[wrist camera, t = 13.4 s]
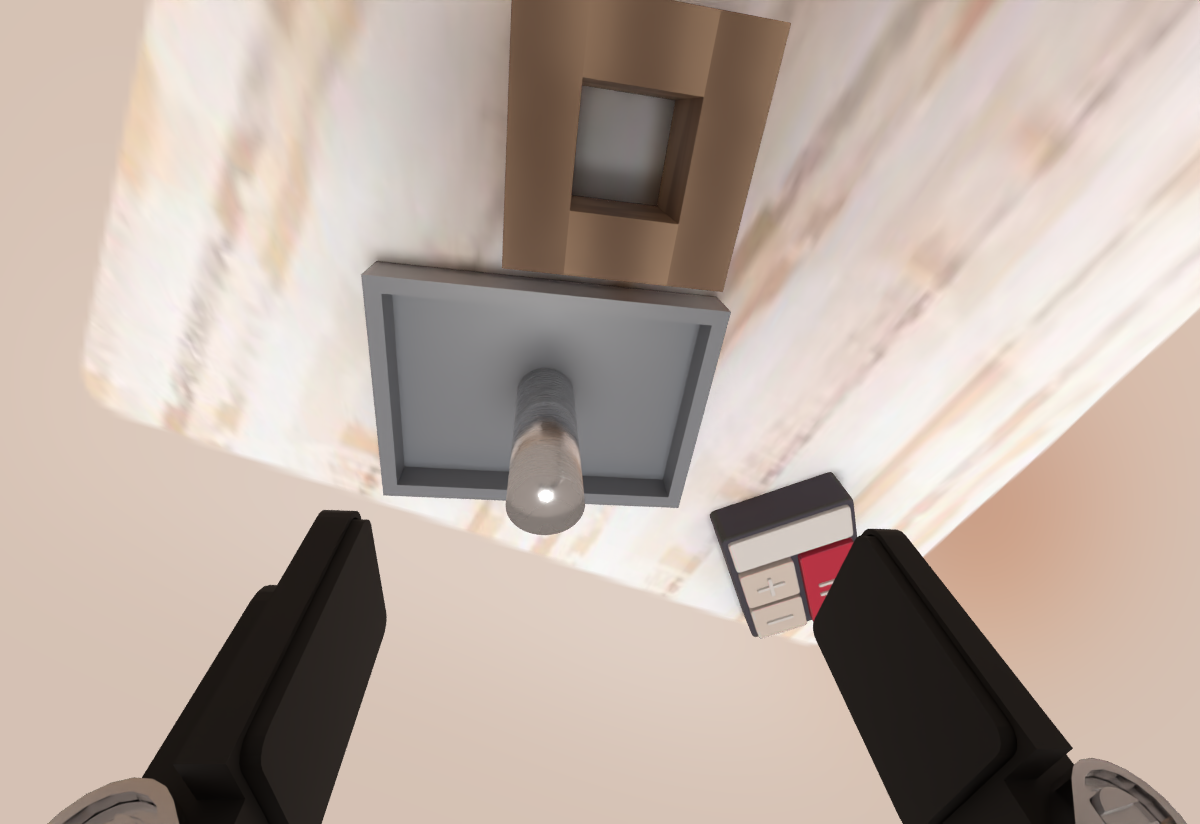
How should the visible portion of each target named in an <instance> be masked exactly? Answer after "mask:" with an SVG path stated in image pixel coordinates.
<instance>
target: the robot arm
mask: <svg viewBox="0 0 1200 824" xmlns="http://www.w3.org/2000/svg"><path fill="white" fill-rule="evenodd" d="M385 627H386V609H385V603H384V598H383V592H382V586H381V580H380V574H379V568H378V563H377V557H376V551H375V545H374V539H373V533H372V527H371V523H370V521H369V520H361V516H360V514H359V512H358V511H339V510H323V511H321V512H320V513H319V515H318V516H317V518H316V520H315V522H314V523H313V525H312V526H311V528H310V530H309V532H308V533H307V535H306V537H305V538H304V540H303V542H302V544H301V545H300V547H299V549H298V550H297V552H296V554H295V556H294V557H293V559H292V561H291V563H290V564H289V566H288V568H287V569H286V571H285V573H284V575H283V576H282V578H281V580H280V581H279V583H278V585H268V586H264V587H263V588H262V589H260V590H259V591H258V592H257V593H256V595H255V596H254V597H253V599H252V600H251V601H250V603H249V605H248V606H247V608H246V610H245V611H244V613H243V614H242V616H241V618H240V619H239V621H238V623H237V624H236V626H235V627H234V629H233V631H232V632H231V634H230V636H229V637H228V639H227V640H226V642H225V644H224V645H223V647H222V649H221V650H220V652H219V653H218V655H217V657H216V658H215V660H214V662H213V663H212V665H211V667H210V668H209V670H208V671H207V673H206V675H205V676H204V678H203V680H202V681H201V683H200V684H199V686H198V687H197V689H196V691H195V693H194V694H193V696H192V697H191V699H190V700H189V702H188V704H187V705H186V707H185V709H184V710H183V712H182V713H181V715H180V717H179V718H178V720H177V722H176V723H175V725H174V726H173V728H172V730H171V731H170V733H169V735H168V736H167V738H166V740H165V741H164V743H163V744H162V746H161V747H160V749H159V751H158V752H157V754H156V756H155V757H154V759H153V760H152V762H151V764H150V765H149V767H148V769H147V770H146V772H145V774H144V775H143V777H142V778H129V779H125V780H121V781H116V782H112V783H109V784H107V785H105V786H103V787H101V788H99V789H97V790H94V791H92V792H90V793H88V794H86V795H84V796H83V797H81V798H80V799H79V800H77V801H76V802H74V803H73V804H71V805H70V806H68V807H67V808H65V809H64V810H63V811H61V812H60V813H59V814H58V815H57V816H55V817H54V818H53V819H52V820H51V821H50V822H49V823H48V824H322V820H323V817H324V814H325V811H326V808H327V805H328V802H329V799H330V796H331V793H332V790H333V787H334V784H335V781H336V778H337V775H338V772H339V769H340V766H341V763H342V760H343V757H344V754H345V751H346V748H347V745H348V742H349V739H350V736H351V733H352V730H353V727H354V724H355V720H356V717H357V715H358V711H359V708H360V705H361V702H362V699H363V696H364V693H365V690H366V687H367V684H368V681H369V678H370V675H371V672H372V669H373V666H374V663H375V660H376V657H377V654H378V651H379V648H380V645H381V642H382V639H383V636H384V632H385ZM813 631H814V636H815V638H816V641H817V643H818V645H819V647H820V649H821V651H822V654H823V656H824V658H825V660H826V662H827V664H828V666H829V668H830V670H831V672H832V675H833V677H834V679H835V681H836V683H837V685H838V687H839V690H840V692H841V694H842V696H843V698H844V700H845V702H846V705H847V707H848V709H849V711H850V713H851V715H852V717H853V719H854V722H855V724H856V726H857V728H858V730H859V732H860V735H861V737H862V739H863V741H864V743H865V745H866V747H867V749H868V752H869V754H870V756H871V758H872V760H873V762H874V764H875V767H876V769H877V771H878V772H879V775H880V777H881V779H882V781H883V784H884V786H885V788H886V790H887V792H888V794H889V796H890V798H891V801H892V803H893V805H894V807H895V809H896V811H897V813H898V815H899V818H900V819H901V821H902V823H903V824H1187V823H1186V822H1185V821H1184V819H1183V818H1182V816H1181V815H1180V814H1179V813H1178V812H1177V811H1176V810H1175V809H1174V808H1173V807H1172V806H1171V805H1170V803H1169V802H1168V801H1167V800H1166V799H1165V798H1164V797H1163V796H1161V795H1160V794H1159V793H1158V792H1157V791H1155V790H1154V789H1153V788H1152V787H1151V786H1150V785H1148V784H1147V783H1146V782H1144V781H1143V780H1141V779H1140V778H1138V777H1137V776H1135V775H1134V774H1132V773H1131V772H1129V771H1128V770H1126V769H1124V768H1122V767H1119V766H1117V765H1115V764H1113V763H1110V762H1108V761H1104V760H1100V759H1095V758H1088V759H1081V760H1079V761H1078V762H1077V763H1076V764H1073V763H1072V761H1071V760H1070V759H1069V758H1068V756H1067V755H1066V754H1067V753H1068V752H1069V751H1070V750H1072V749H1073V748H1072V747H1071V745H1070V744H1069V743H1068V742H1067V740H1066V739H1065V738H1064V736H1063V735H1062V734H1061V733H1060V731H1059V730H1058V729H1057V728H1056V726H1055V725H1054V724H1053V722H1052V721H1051V720H1050V719H1049V718H1048V716H1047V715H1046V714H1045V712H1044V711H1043V710H1042V708H1041V707H1040V706H1039V705H1038V703H1037V702H1036V701H1035V700H1034V698H1033V697H1032V696H1031V694H1030V693H1029V692H1028V691H1027V689H1026V688H1025V687H1024V686H1023V684H1022V683H1021V682H1020V680H1019V679H1018V678H1017V677H1016V676H1015V674H1014V673H1013V672H1012V670H1011V669H1010V668H1009V666H1008V665H1007V664H1006V663H1005V661H1004V660H1003V659H1002V658H1001V656H1000V655H999V654H998V653H997V651H996V650H995V649H994V647H993V646H992V645H991V644H990V642H989V641H988V640H987V639H986V637H985V636H984V635H983V633H982V632H981V631H980V630H979V628H978V627H977V626H976V625H975V623H974V622H973V621H972V620H971V618H970V617H969V616H968V614H967V613H966V612H965V611H964V609H963V608H962V607H961V605H960V604H959V603H958V602H957V600H956V599H955V598H954V596H953V595H952V594H951V593H950V591H949V590H948V589H947V587H946V586H945V585H944V584H943V582H942V581H941V580H940V579H939V577H938V576H937V575H936V574H935V572H934V571H933V570H932V568H931V567H930V566H929V565H928V563H927V562H926V561H925V559H924V558H923V557H922V556H921V554H920V553H919V552H918V551H917V549H916V548H915V547H914V545H913V544H912V543H911V542H910V540H909V539H908V538H907V537H906V535H905V534H903V533H902V532H901V531H899V530H891V529H867V530H865V531H864V532H863V534H862V535H861V536H858V537H857V538H856V539H855V541H854V543H853V544H852V546H851V548H850V550H849V552H848V554H847V556H846V558H845V560H844V562H843V564H842V566H841V568H840V570H839V572H838V574H837V576H836V578H835V580H834V582H833V584H832V586H831V588H830V589H829V591H828V593H827V595H826V597H825V599H824V601H823V603H822V605H821V607H820V609H819V611H818V613H817V615H816V617H815V619H814V622H813Z"/></svg>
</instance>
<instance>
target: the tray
mask: <svg viewBox="0 0 1200 824" xmlns="http://www.w3.org/2000/svg"><path fill="white" fill-rule="evenodd" d="M361 276H362V286H363V296H364V306H365V316H366V326H367V336H368V346H369V356H370V366H371V376H372V386H373V396H374V406H375V416H376V426H377V435H378V445H379V455H380V465H381V475H382V485H383V495H389V496H412V497H435V498H459V499H482V500H506V497H507V487H508V477H509V468H510V458H511V448H512V438H513V429H514V419H515V409H516V400H517V390H518V386H519V383H520V381H521V380H522V379H523V377H524V376H525V375H527V374H528V373H529V372H531V371H533V370H536V369H540V368H550V369H555V370H558V371H560V372H562V373H563V374H564V375H566V376H567V377H568V378H569V380H570V381H571V383H572V385H573V389H574V398H575V408H576V418H577V428H578V438H579V449H580V459H581V469H582V479H583V489H584V499H585V504H599V505H623V506H646V507H670V508H678V507H679V503H680V500H681V496H682V492H683V488H684V485H685V481H686V477H687V473H688V470H689V466H690V462H691V459H692V455H693V451H694V447H695V444H696V440H697V436H698V432H699V429H700V425H701V421H702V418H703V414H704V410H705V406H706V403H707V399H708V395H709V391H710V388H711V384H712V380H713V377H714V373H715V369H716V365H717V362H718V358H719V354H720V350H721V347H722V343H723V339H724V336H725V332H726V328H727V324H728V321H729V317H730V313H731V312H730V311H729V309H728V308H727V307H726V306H725V305H724V304H723V303H722V302H721V301H720V300H719V299H718V298H717V297H711V296H701V295H692V294H682V293H673V292H663V291H654V290H644V289H635V288H625V287H616V286H606V285H597V284H587V283H578V282H568V281H559V280H549V279H540V278H530V277H521V276H511V275H502V274H492V273H483V272H473V271H464V270H454V269H445V268H435V267H426V266H416V265H407V264H398V263H388V262H379V261H376V262H375V263H374V264H373V265H372V266H371V267H369V268H368V269H367V270H366V271H365V272H364V273H362V274H361Z"/></svg>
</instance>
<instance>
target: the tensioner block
mask: <svg viewBox="0 0 1200 824" xmlns="http://www.w3.org/2000/svg"><path fill="white" fill-rule="evenodd" d="M790 26H791V23H789V22H783V21H778V20H773V19H768V18H762V17H757V16H752V15H747V14H741V13H736V12H731V11H726V10H720V9H715V8H710V7H705V6H699V5H694V4H689V3H684V2H678V1H673V0H512V6H511V34H510V62H509V89H508V117H507V145H506V173H505V200H504V228H503V256H502V268H504V269H514V270H523V271H532V272H542V273H551V274H560V275H570V276H579V277H588V278H598V279H607V280H616V281H626V282H635V283H644V284H654V285H663V286H672V287H682V288H691V289H700V290H710V291H719V292H723V288H724V285H725V281H726V277H727V273H728V269H729V265H730V261H731V257H732V253H733V249H734V245H735V241H736V237H737V234H738V230H739V226H740V222H741V218H742V214H743V210H744V206H745V202H746V198H747V194H748V190H749V186H750V183H751V179H752V175H753V171H754V167H755V163H756V159H757V155H758V151H759V147H760V143H761V139H762V135H763V131H764V128H765V124H766V120H767V116H768V112H769V108H770V104H771V100H772V96H773V92H774V88H775V84H776V80H777V77H778V73H779V69H780V65H781V61H782V57H783V53H784V49H785V45H786V41H787V37H788V33H789V29H790ZM582 85H584V86H591V87H597V88H603V89H609V90H615V91H622V92H628V93H634V94H640V95H646V96H653V97H659V98H665V99H671V100H675V106H674V111H673V117H672V123H671V128H670V134H669V140H668V146H667V151H666V157H665V163H664V168H663V174H662V180H661V186H660V191H659V197H658V203H657V206H651V205H643V204H635V203H628V202H620V201H612V200H605V199H597V198H589V197H582V196H574V195H571V193H572V183H573V172H574V162H575V151H576V141H577V131H578V120H579V110H580V99H581V89H582Z"/></svg>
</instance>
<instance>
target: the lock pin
mask: <svg viewBox="0 0 1200 824" xmlns="http://www.w3.org/2000/svg"><path fill="white" fill-rule="evenodd" d="M584 508H585V499H584V489H583V479H582V469H581V459H580V449H579V438H578V428H577V418H576V408H575V398H574V389H573V385H572V383H571V381H570V380H569V378H568V377H567V376H566V375H564V374H563V373H562V372H560V371H558V370H555V369H550V368H540V369H536V370H533V371H531V372H529V373H528V374H527V375H525V376H524V377H523V379H522V380H521V381H520V383H519V386H518V390H517V400H516V409H515V419H514V429H513V438H512V448H511V458H510V468H509V477H508V487H507V497H506V511H507V514H508V516H509V518H510V520H511V521H512V522H513V523H514V524H515V525H516V526H517V527H519V528H520V529H522V530H524V531H526V532H529V533H532V534H537V535H551V534H557V533H560V532H563V531H565V530H567V529H569V528H571V527H572V526H573V525H575V524H576V523H577V522H578V521H579V519H580V518H581V516H582V514H583V512H584Z"/></svg>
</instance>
